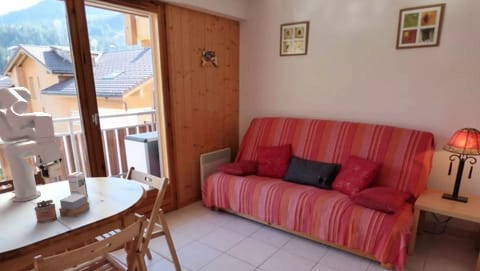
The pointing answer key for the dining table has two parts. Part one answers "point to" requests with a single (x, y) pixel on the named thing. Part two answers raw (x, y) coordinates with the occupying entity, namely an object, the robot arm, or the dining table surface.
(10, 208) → the dining table surface
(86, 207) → the walnut block
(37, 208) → the lighter
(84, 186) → the syrup box
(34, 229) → the dining table surface
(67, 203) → the slate block
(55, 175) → the birch cube
